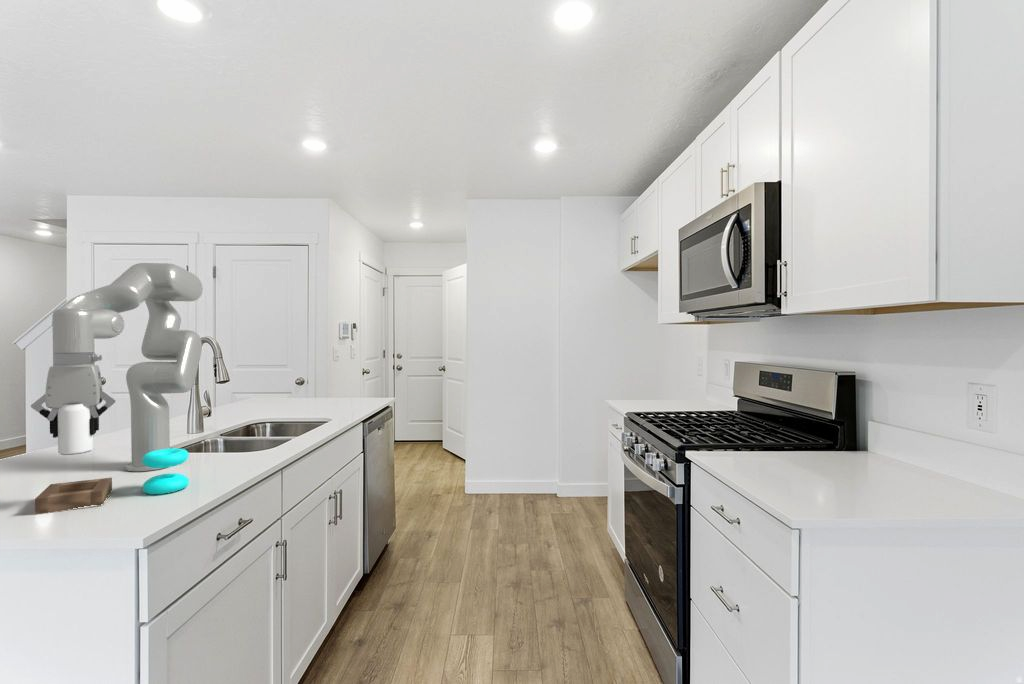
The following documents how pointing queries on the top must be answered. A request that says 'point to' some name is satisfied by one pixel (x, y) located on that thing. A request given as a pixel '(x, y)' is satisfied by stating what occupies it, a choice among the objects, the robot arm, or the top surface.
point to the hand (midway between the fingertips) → (75, 434)
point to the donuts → (165, 481)
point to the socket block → (73, 495)
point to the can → (74, 429)
